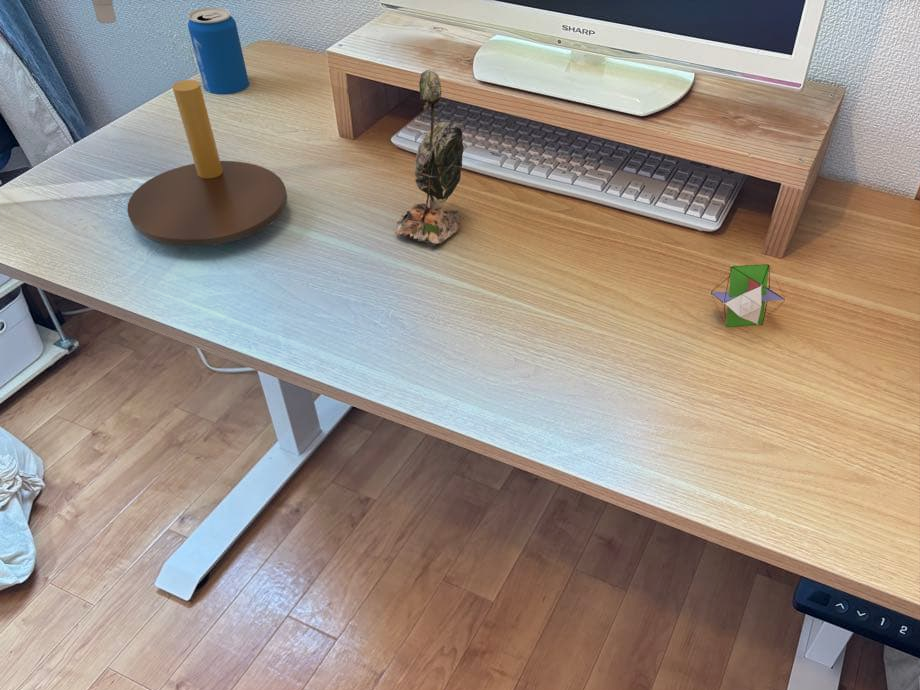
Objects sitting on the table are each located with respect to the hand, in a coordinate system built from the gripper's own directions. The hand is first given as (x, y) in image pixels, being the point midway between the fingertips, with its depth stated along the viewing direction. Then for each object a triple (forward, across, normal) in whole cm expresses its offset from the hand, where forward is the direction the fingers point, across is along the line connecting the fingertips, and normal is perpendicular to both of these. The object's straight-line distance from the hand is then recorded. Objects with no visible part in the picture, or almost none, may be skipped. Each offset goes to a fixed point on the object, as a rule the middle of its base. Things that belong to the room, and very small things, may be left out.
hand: (102, 10), depth 86 cm
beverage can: (+18, -24, +15) cm, 34 cm away
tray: (+20, +9, +6) cm, 22 cm away
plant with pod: (+20, +20, +30) cm, 42 cm away
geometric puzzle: (+21, +51, +54) cm, 78 cm away
